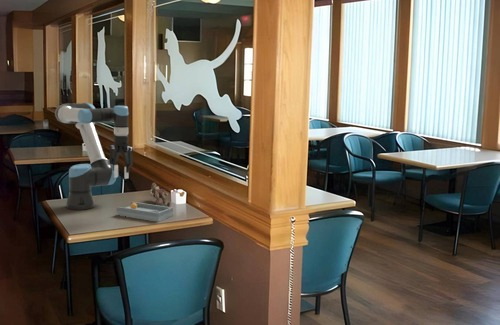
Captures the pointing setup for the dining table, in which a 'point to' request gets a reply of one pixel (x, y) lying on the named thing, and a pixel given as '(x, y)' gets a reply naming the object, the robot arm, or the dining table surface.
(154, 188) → the figurine
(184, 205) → the dining table surface
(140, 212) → the tray
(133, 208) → the ball
